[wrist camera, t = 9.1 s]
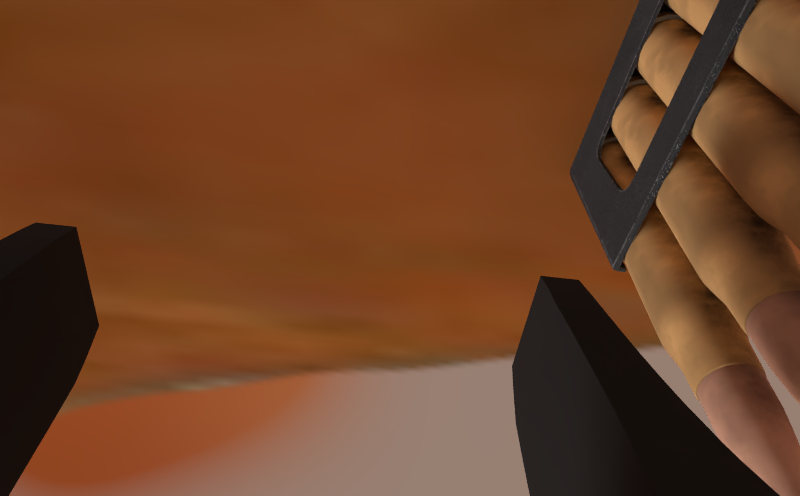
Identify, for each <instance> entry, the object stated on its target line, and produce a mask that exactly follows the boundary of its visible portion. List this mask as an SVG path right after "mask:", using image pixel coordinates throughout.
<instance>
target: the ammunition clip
mask: <svg viewBox="0 0 800 496" xmlns="http://www.w3.org/2000/svg"><path fill="white" fill-rule="evenodd" d="M570 175H571V179H572V181H573V183H574V185H575V187H576V190H577V192H578V194H579V196H580V198H581V200H582V203H583V205H584V207H585V209H586V211H587V214H588V216H589V218H590V220H591V222H592V225H593V227H594V229H595V231H596V233H597V235H598V238H599V240H600V242H601V244H602V246H603V249H604V251H605V253H606V255H607V257H608V260H609V262H610V264H611V266H612V268H613V269H614V270H616V271H621V272H625V271H626V267H625V265H624V263H623V260H624V262H625V264H626V266H627V268H628V271H629V273H630V275H631V277H632V280H633V282H634V284H635V286H636V288H637V291H638V293H639V295H640V297H641V299H642V302H643V304H644V306H645V308H646V310H647V313H648V315H649V317H650V319H651V322H652V324H653V326H654V328H655V330H656V333H657V335H658V337H659V339H660V341H661V343H662V345H663V347H664V348H665V350H666V351H667V352H668V354H669V355H670V356H671V357H672V359H673V360H674V361H675V362H676V363H677V365H678V366H679V367H680V369H681V370H682V371H683V373H684V375H685V377H686V379H687V381H688V383H689V385H690V387H691V388H692V390H693V392H694V394H695V396H696V398H697V400H699V401H700V402H701V404H702V406H703V408H704V410H705V412H706V414H707V416H708V418H709V420H710V423H711V425H712V427H713V428H714V430H715V432H716V434H717V436H718V438H719V439H720V440H721V441H722V442H723V443H724V444H725V445H726V446H727V447H728V448H729V449H730V450H731V451H732V452H733V453H734V454H735V455H736V456H737V457H738V458H739V459H740V460H741V461H742V462H743V463H745V464H746V465H747V466H748V467H749V468H750V469H751V470H752V471H753V472H754V473H756V474H757V475H758V476H759V477H760V478H761V479H762V480H763V481H764V482H765V483H767V484H768V485H769V486H770V487H771V488H772V489H773V490H774V491H775V492H777V493H778V494H779V495H780V496H800V446H799V443H798V440H797V438H796V436H795V433H794V431H793V429H792V426H791V424H790V422H789V419H788V417H787V415H786V413H785V411H784V408H783V406H782V405H781V403H780V401H779V399H778V397H777V396H776V394H775V392H774V390H773V389H772V387H771V385H770V383H769V382H768V380H767V378H766V374H765V371H764V369H763V367H762V365H761V363H760V362H759V360H758V358H757V356H756V354H755V352H754V350H753V348H752V346H751V344H750V343H749V340H748V336H749V337H750V338H751V339H752V341H753V342H754V344H755V346H756V347H757V349H758V350H759V352H760V353H761V355H762V357H763V358H764V360H765V361H766V362H767V364H768V366H769V367H770V368H771V370H772V371H773V372H774V374H775V375H776V376H777V377H778V379H779V380H780V381H781V382H782V384H783V385H784V386H785V387H786V389H787V390H788V391H789V392H790V394H791V395H792V396H793V397H794V398H795V399H796V401H797V402H798V403H799V404H800V266H799V264H798V262H797V259H796V257H795V254H794V252H793V249H792V247H791V245H790V243H789V241H788V240H787V238H786V237H785V235H786V236H787V237H788V238H789V239H790V240H791V241H792V242H793V243H794V244H795V245H796V246H797V247H798V248H799V249H800V0H640V1H639V3H638V6H637V8H636V11H635V13H634V15H633V18H632V20H631V23H630V25H629V28H628V30H627V33H626V35H625V37H624V40H623V42H622V45H621V47H620V50H619V52H618V54H617V57H616V59H615V62H614V64H613V67H612V69H611V72H610V74H609V76H608V79H607V81H606V84H605V86H604V89H603V91H602V94H601V96H600V98H599V101H598V103H597V106H596V108H595V111H594V113H593V116H592V118H591V120H590V123H589V125H588V128H587V130H586V133H585V135H584V138H583V140H582V142H581V145H580V147H579V150H578V152H577V155H576V157H575V160H574V162H573V164H572V167H571V169H570ZM784 234H785V235H784ZM747 335H748V336H747Z"/></svg>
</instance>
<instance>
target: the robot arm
mask: <svg viewBox="0 0 800 496" xmlns="http://www.w3.org/2000/svg"><path fill="white" fill-rule="evenodd" d="M98 327H99V323H98V319H97V315H96V310H95V306H94V302H93V297H92V293H91V289H90V284H89V280H88V276H87V271H86V267H85V263H84V258H83V254H82V250H81V245H80V241H79V237H78V232H77V228H76V227H72V226H62V225H53V224H43V223H34V224H32V225H30V226H28V227H25V228H23V229H21V230H19V231H17V232H15V233H13V234H11V235H9V236H7V237H6V238H4V239H2V240H0V496H9V494H10V493H11V491H12V489H13V488H14V486H15V484H16V482H17V481H18V479H19V477H20V476H21V474H22V472H23V471H24V469H25V467H26V466H27V464H28V462H29V461H30V459H31V457H32V455H33V454H34V452H35V451H36V449H37V447H38V446H39V444H40V442H41V440H42V439H43V437H44V435H45V434H46V432H47V430H48V429H49V427H50V425H51V424H52V422H53V420H54V419H55V417H56V415H57V413H58V412H59V410H60V408H61V407H62V405H63V403H64V402H65V400H66V398H67V396H68V395H69V393H70V391H71V389H72V388H73V386H74V384H75V382H76V380H77V378H78V375H79V373H80V371H81V368H82V366H83V364H84V362H85V359H86V357H87V355H88V352H89V350H90V347H91V345H92V342H93V339H94V337H95V334H96V332H97V329H98ZM512 370H513V389H514V404H515V415H516V426H517V431H518V437H519V442H520V447H521V453H522V457H523V463H524V468H525V473H526V478H527V483H528V488H529V493H530V496H780V495H779V494H778V493H777V492H775V491H774V490H773V489H772V488H771V487H770V486H769V485H768V484H767V483H765V482H764V481H763V480H762V479H761V478H760V477H759V476H758V475H757V474H756V473H754V472H753V471H752V470H751V469H750V468H749V467H748V466H747V465H746V464H745V463H743V462H742V461H741V460H740V459H739V458H738V457H737V456H736V455H735V454H734V453H733V452H732V451H731V450H730V449H729V448H728V447H727V446H726V445H725V444H724V443H723V442H722V441H721V440H720V439H719V438H717V437H716V436H715V435H714V433H713V432H712V431H711V430H710V429H709V428H708V427H707V426H706V425H705V424H704V423H703V422H702V421H701V420H700V419H699V418H698V417H697V416H696V415H695V414H694V413H693V412H692V411H691V410H690V409H689V408H688V407H687V406H686V405H685V404H684V402H683V401H682V400H681V399H680V398H679V397H678V396H677V395H676V394H675V393H674V391H673V390H672V389H671V388H670V387H669V386H668V385H667V384H666V383H665V382H664V380H663V379H662V378H661V377H660V376H659V375H658V374H657V373H656V371H655V370H654V369H653V368H652V367H651V366H650V365H649V363H648V362H647V361H646V360H645V359H644V358H643V357H642V355H641V354H640V353H639V352H638V351H637V349H636V348H635V347H634V346H633V345H632V343H631V342H630V341H629V340H628V339H627V338H626V336H625V335H624V334H623V333H622V331H621V330H620V329H619V328H618V327H617V325H616V324H615V323H614V322H613V321H612V319H611V318H610V317H609V316H608V314H607V313H606V312H605V311H604V310H603V308H602V307H601V306H600V305H599V303H598V302H597V301H596V300H595V299H594V297H593V296H592V295H591V294H590V293H589V291H588V290H587V289H586V288H585V287H584V286H583V284H582V283H581V282H580V281H579V280H574V279H564V278H555V277H545V276H541V277H540V280H539V283H538V286H537V289H536V293H535V296H534V299H533V302H532V305H531V308H530V311H529V315H528V318H527V321H526V324H525V327H524V330H523V334H522V337H521V340H520V343H519V346H518V349H517V353H516V356H515V359H514V362H513V365H512Z"/></svg>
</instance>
